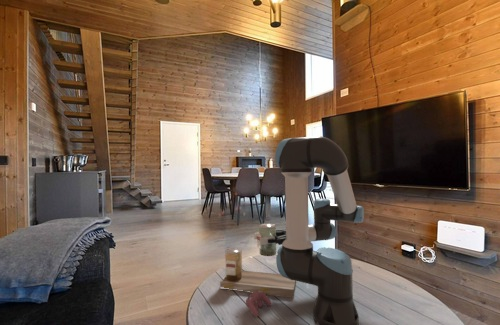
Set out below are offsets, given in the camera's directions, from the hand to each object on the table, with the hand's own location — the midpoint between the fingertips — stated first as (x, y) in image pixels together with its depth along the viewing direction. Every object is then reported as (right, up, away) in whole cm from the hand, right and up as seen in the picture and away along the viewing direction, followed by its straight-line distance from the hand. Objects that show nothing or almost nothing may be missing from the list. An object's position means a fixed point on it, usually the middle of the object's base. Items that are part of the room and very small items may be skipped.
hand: (257, 238), depth 112 cm
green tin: (+4, -7, +1) cm, 8 cm away
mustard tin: (-11, -20, +5) cm, 23 cm away
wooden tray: (+1, -22, +3) cm, 22 cm away
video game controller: (0, -22, -16) cm, 27 cm away
